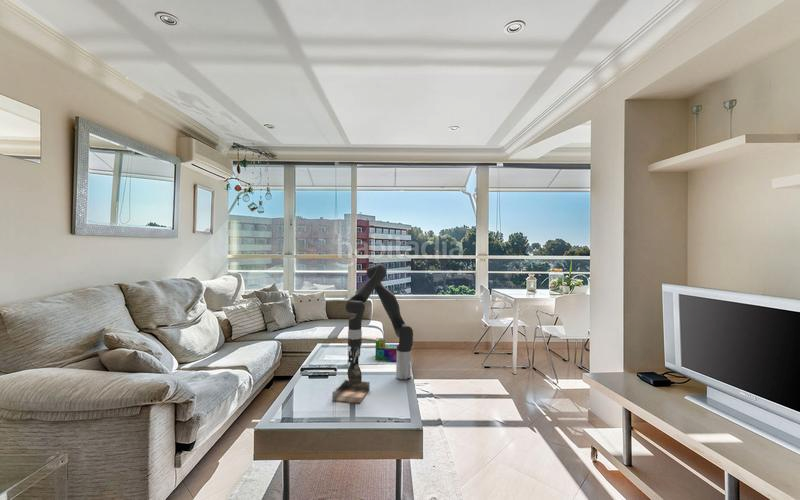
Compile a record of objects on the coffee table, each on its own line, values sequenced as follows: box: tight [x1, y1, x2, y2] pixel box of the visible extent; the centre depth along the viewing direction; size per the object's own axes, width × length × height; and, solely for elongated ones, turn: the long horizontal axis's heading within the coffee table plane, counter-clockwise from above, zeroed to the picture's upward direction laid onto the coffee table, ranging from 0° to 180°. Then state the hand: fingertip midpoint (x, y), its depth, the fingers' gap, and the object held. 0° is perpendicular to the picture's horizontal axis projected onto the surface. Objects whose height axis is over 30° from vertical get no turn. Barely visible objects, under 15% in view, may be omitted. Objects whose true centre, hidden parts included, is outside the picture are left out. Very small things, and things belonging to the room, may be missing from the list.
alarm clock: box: [347, 359, 363, 389], centre depth 210 cm, size 11×5×16 cm, turn 27°
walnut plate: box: [331, 388, 370, 405], centre depth 210 cm, size 15×19×1 cm
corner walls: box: [331, 379, 370, 400], centre depth 210 cm, size 15×19×4 cm
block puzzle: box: [374, 337, 399, 363], centre depth 281 cm, size 25×17×14 cm
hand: (354, 367), depth 210 cm, fingers closed on alarm clock, 7 cm apart
